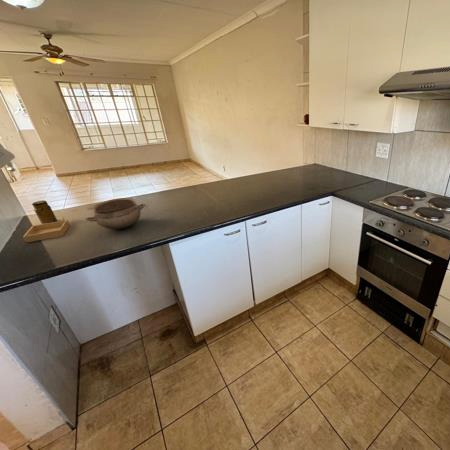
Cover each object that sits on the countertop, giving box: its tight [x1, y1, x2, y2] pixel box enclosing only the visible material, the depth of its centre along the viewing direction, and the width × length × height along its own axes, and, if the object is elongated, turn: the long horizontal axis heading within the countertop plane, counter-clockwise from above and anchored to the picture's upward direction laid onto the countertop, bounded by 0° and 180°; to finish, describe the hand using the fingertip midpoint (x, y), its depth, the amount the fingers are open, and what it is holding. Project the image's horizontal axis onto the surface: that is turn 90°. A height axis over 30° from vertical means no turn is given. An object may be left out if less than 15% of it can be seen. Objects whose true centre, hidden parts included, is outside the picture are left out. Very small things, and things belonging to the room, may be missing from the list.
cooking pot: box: [85, 197, 146, 230], centre depth 123 cm, size 25×19×12 cm
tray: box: [22, 219, 70, 243], centre depth 119 cm, size 13×12×3 cm
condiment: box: [31, 200, 64, 224], centre depth 127 cm, size 7×8×12 cm
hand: (5, 177), depth 118 cm, fingers open, 8 cm apart
